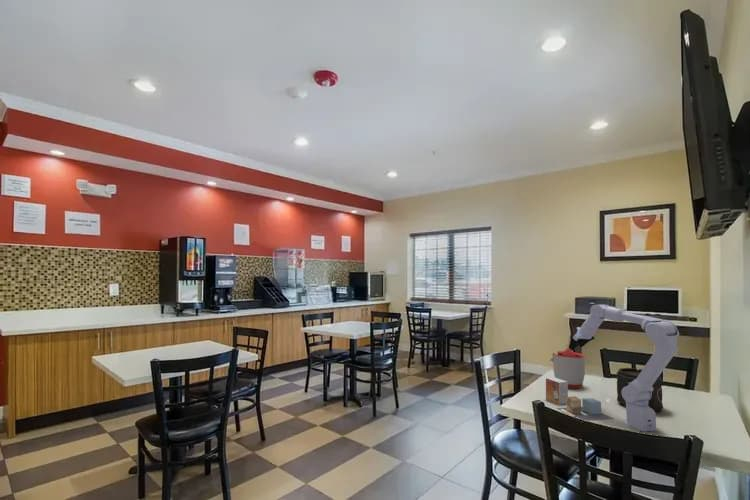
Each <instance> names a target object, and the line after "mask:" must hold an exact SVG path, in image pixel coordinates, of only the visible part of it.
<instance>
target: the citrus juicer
mask: <svg viewBox="0 0 750 500" xmlns="http://www.w3.org/2000/svg"><path fill="white" fill-rule="evenodd" d="M585 357H586V355H585V354H584V353H583V354H582V353H580V352H576V351H575V352H574V351H572V350H570V349H569V347H567V348H566V349H565V350H563V351H561V350H560V351H557V353H556V352H555V353H554V352H552V358H550V360H549V361H550V362H552V363H553V374H554V377H555V378H558V379H561V380H564V381H567V382H568V389H572V390H575V389H580V388H582V386H583V384H584V379H585V373H586V372H585V368H586V367H585Z"/></svg>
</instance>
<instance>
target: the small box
mask: <svg viewBox="0 0 750 500" xmlns="http://www.w3.org/2000/svg"><path fill="white" fill-rule="evenodd" d="M566 397H569V388H568V382H567V381H564V380H561V379H558V378H555V376H553V377H546V378H545V400H547V401H550V402H551V403H555V404H557V405H565V404H566ZM566 405H567V404H566Z"/></svg>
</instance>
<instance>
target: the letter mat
mask: <svg viewBox="0 0 750 500" xmlns="http://www.w3.org/2000/svg"><path fill="white" fill-rule="evenodd" d="M556 409H557V410H558V411H560V412H563V413H564V414H566V415H568V416H570V415H571V416H574V417H578V418H580V419H583V420H587V421H586V422H588V421H589V422H590V421H603V420H604V421H605V420H606V421H607V420H615V418H614V417H611V416H609V415H608V414H605V413H603V412H601V414H589V413H587V412H585V411H583V406H581V414H572V413H570V412H568V411H567V407H557V408H556ZM571 416H570V417H571Z"/></svg>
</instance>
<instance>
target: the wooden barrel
mask: <svg viewBox="0 0 750 500" xmlns="http://www.w3.org/2000/svg"><path fill="white" fill-rule="evenodd" d="M642 370H643V368H639V369H637V368H633V367H621V368H618V371H616V375H615V377H616V393H617V394H616V395H617V396H616V401H617V403H619V406H622V407H623V408H626V402H625V400H624V398H623V397H622V393H621V391H622V389H623V388H624V387H626V386H628V385H629V383H631V382H632V381H634V380H635V379H636V378H637V377H638V375H639V374H640V373H641V371H642ZM662 383H663V379H662V377H661V376H659V377H658V378H657V380H656V381H655V382H654V384H653V385H652V387H653V388H654V390H653V391H652V397H651V399H650V400H648V406H649V407H650V408H652V409H653V410H654V411H655V414H657V413H661V410H663V409H664V405H663V388H662Z"/></svg>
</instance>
